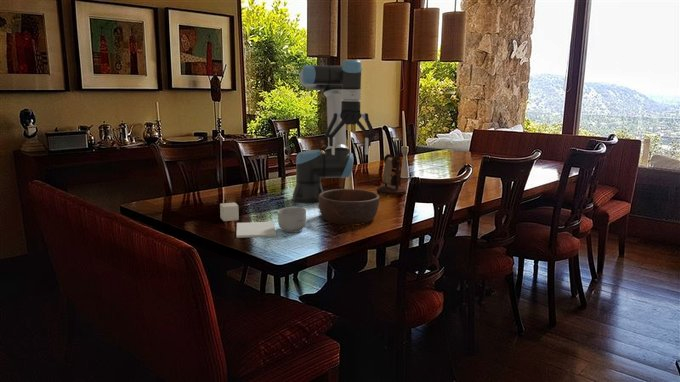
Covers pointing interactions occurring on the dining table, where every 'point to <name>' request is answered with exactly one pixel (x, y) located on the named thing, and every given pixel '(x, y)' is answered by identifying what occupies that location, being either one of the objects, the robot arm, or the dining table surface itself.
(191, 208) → the dining table surface
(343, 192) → the wooden bowl
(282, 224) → the teacup
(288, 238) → the dining table surface
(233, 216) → the cream block
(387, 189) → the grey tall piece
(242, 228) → the mat
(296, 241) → the dining table surface
